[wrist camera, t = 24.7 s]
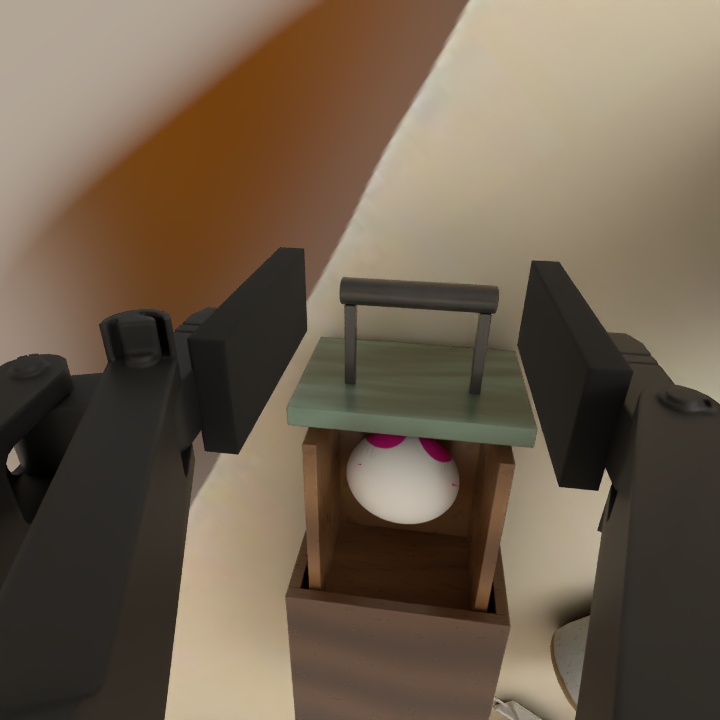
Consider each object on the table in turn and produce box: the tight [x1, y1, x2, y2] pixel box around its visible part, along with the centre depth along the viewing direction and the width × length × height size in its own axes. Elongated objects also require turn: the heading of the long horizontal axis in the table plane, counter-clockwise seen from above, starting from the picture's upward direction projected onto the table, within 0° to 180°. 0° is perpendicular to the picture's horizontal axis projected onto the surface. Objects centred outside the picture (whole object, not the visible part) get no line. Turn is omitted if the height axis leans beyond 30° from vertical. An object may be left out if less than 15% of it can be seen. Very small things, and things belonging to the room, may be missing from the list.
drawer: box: [287, 277, 537, 613], centre depth 33 cm, size 23×13×9 cm, turn 179°
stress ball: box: [347, 433, 460, 524], centre depth 35 cm, size 8×8×7 cm
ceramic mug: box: [550, 615, 590, 711], centre depth 42 cm, size 11×8×8 cm
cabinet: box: [285, 531, 510, 720], centre depth 41 cm, size 18×14×11 cm
